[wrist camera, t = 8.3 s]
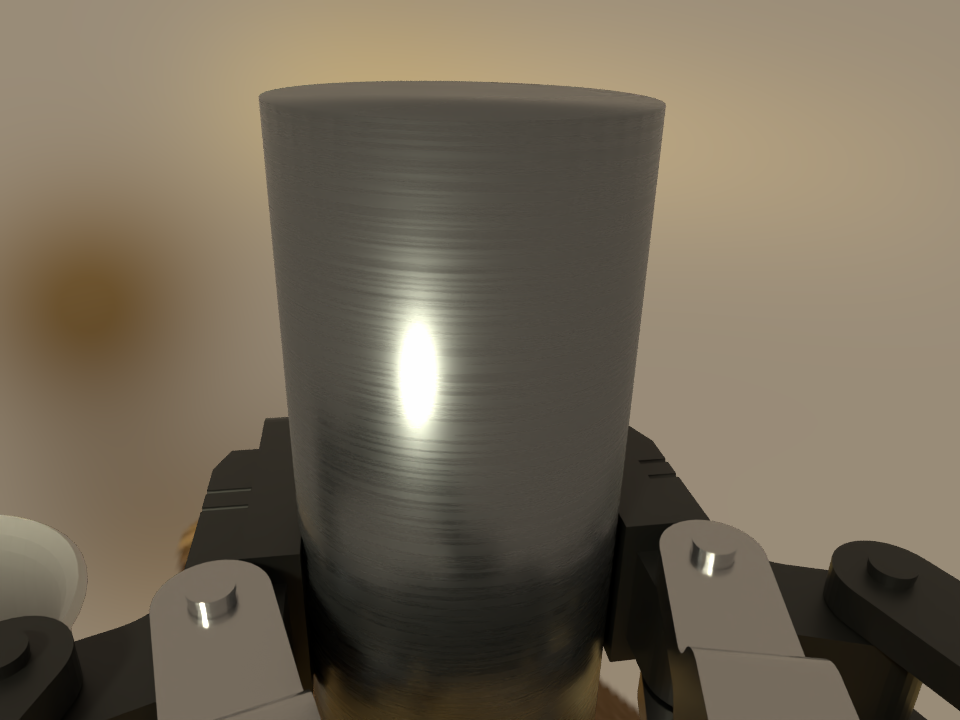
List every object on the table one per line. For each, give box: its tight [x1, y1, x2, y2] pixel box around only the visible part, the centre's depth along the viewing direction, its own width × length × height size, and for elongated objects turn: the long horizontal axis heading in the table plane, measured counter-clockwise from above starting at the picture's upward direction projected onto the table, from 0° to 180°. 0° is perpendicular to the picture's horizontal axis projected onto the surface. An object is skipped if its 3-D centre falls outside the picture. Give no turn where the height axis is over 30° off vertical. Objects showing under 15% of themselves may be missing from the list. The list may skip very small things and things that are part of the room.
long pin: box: [259, 81, 666, 720], centre depth 11 cm, size 4×4×15 cm
